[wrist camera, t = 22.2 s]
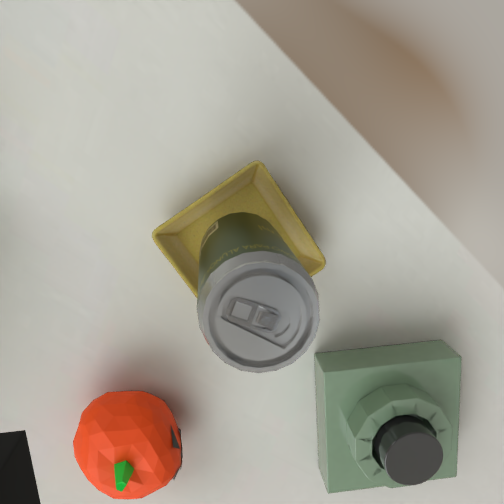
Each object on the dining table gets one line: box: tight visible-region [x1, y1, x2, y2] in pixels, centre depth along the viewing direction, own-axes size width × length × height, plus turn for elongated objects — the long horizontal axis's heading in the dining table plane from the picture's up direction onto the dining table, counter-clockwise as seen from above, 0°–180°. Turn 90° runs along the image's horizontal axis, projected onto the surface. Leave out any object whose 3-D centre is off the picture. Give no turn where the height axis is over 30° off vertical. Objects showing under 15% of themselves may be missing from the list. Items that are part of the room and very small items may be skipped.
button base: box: [314, 340, 461, 493], centre depth 35 cm, size 10×10×5 cm
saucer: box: [152, 161, 326, 298], centre depth 33 cm, size 9×9×2 cm
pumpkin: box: [73, 391, 183, 499], centre depth 33 cm, size 7×8×6 cm
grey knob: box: [374, 415, 443, 485], centre depth 32 cm, size 4×4×2 cm
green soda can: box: [197, 212, 320, 373], centre depth 26 cm, size 5×5×12 cm
